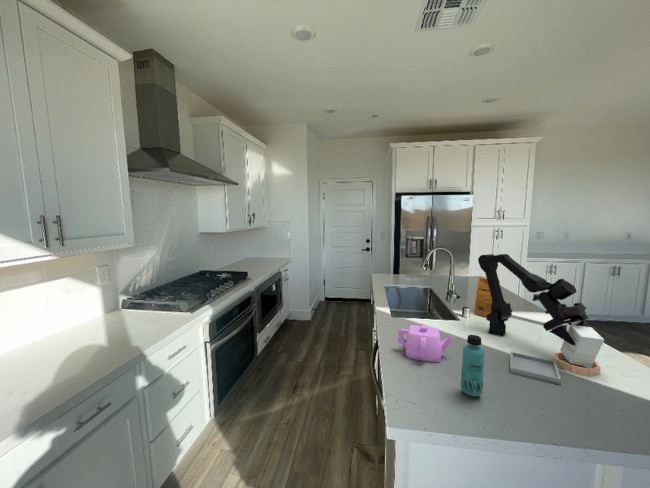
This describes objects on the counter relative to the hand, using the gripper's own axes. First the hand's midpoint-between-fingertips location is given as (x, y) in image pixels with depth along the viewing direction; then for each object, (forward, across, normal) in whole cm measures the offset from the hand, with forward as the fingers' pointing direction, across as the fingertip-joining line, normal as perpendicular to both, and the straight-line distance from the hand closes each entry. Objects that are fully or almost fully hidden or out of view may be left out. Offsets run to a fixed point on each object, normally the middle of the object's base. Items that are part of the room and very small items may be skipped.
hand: (582, 342), depth 107 cm
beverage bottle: (+5, -51, +10) cm, 52 cm away
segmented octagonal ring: (+6, 0, +8) cm, 10 cm away
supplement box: (+4, 0, +6) cm, 7 cm away
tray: (+3, -17, +11) cm, 21 cm away
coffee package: (-31, +17, +46) cm, 58 cm away
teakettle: (-14, -47, +30) cm, 57 cm away
